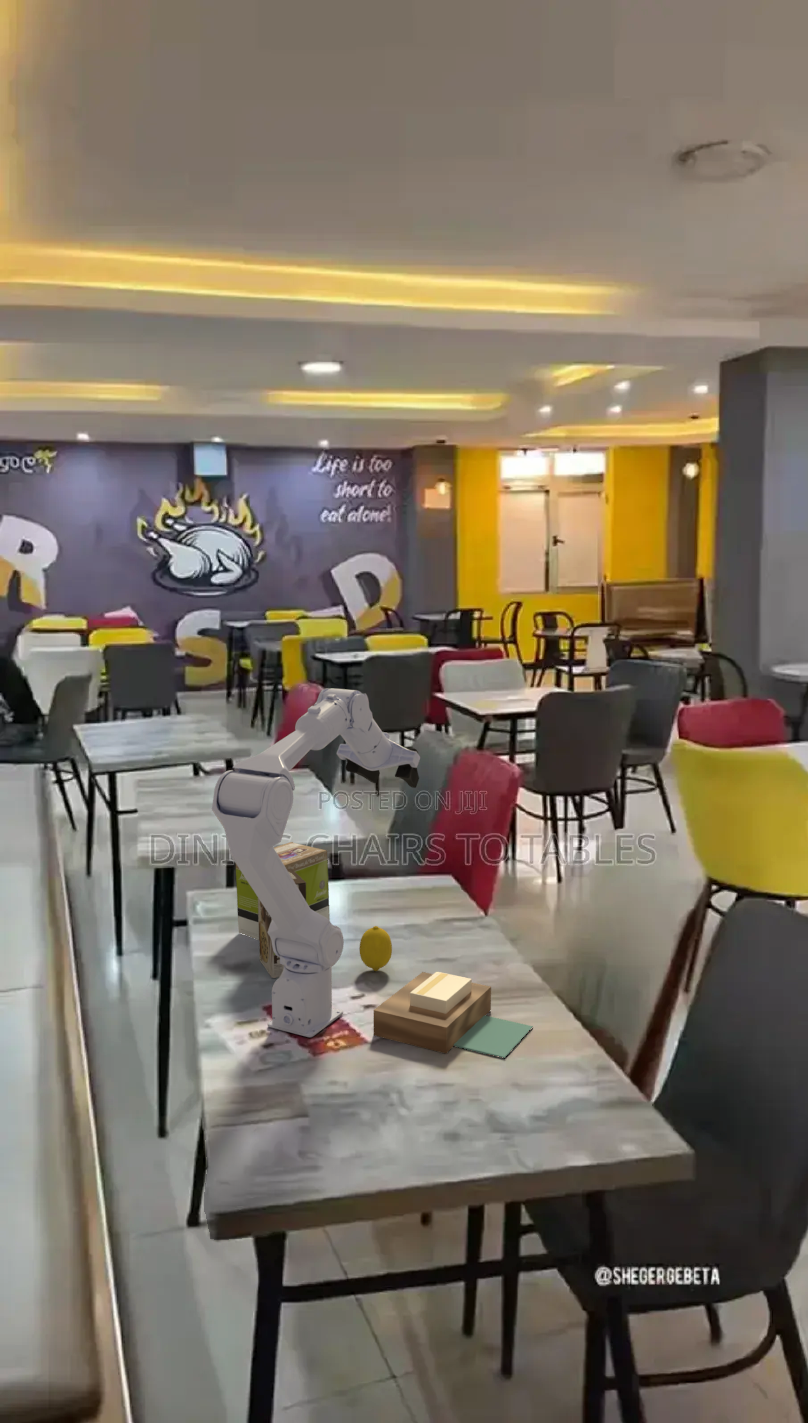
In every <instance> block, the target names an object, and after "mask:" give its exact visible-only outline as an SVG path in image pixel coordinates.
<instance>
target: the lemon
mask: <svg viewBox="0 0 808 1423" xmlns="http://www.w3.org/2000/svg"><path fill="white" fill-rule="evenodd" d="M359 942H360V943H359V948H358V949H359V956H360V959H361V962H362V964H364V965H365V966H366V967H368V968H370V969H372V970H373V971H374V972H378V971H379V970H380V969H381V968H384V967H386V966H387V965H388V963H389V962H390V960H391V958H392V954H393V944H392V940H391V937H390V934H389V933H388V932H387V930H385V929H383V928H381V927H379V926H378V925H374V926H373V927H370V928H368V929H367V930H366V931H364V933H362V935H361V939H360V941H359Z"/></svg>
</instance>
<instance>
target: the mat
mask: <svg viewBox="0 0 808 1423" xmlns="http://www.w3.org/2000/svg"><path fill="white" fill-rule="evenodd" d="M532 1027H533V1028H534V1026H533V1025H529V1024H526V1023H525V1024H524V1023H520V1022H517V1021H511V1020H507V1019H502V1018H499V1017H495V1016H490V1015H484V1016H483V1017H482V1018H481V1019H480V1020H479V1021H478V1022H477V1023H476V1024H475V1025H474V1026H473V1027H471V1028H470V1029H469V1030H468V1031H467V1032H466V1033H465V1034H464V1035H463V1036H462V1037H461V1038H460V1039H459V1040H458V1041H457V1042H456V1043H455V1044H454V1046H456V1047H455V1048H458V1047H459V1049H462V1048H464V1049H463V1050H466V1049H467V1050H466V1051H470V1050H472V1051H471V1052H474V1051H476V1052H475V1053H479V1054H482V1053H483V1055H486V1054H490V1055H494V1056H499V1057H503V1058H505V1057H506V1056H507V1055H508V1054H509V1053H510V1051H511V1050H512V1049H513V1048H514V1047H515V1046H516V1045H517V1044H518V1043H519V1042H520V1041H521V1039H522V1038H523V1037H524V1036H525V1035H526V1034H527V1033H528V1031H529V1030H530V1029H531V1028H532ZM528 1034H529V1033H528ZM528 1034H527V1035H528ZM527 1035H526V1036H527ZM526 1036H525V1037H526ZM525 1037H524V1038H525ZM524 1038H523V1039H524ZM523 1039H522V1040H523ZM521 1042H522V1041H521ZM521 1042H520V1043H521ZM520 1043H519V1044H520ZM519 1044H518V1045H519ZM518 1045H517V1046H518ZM517 1046H516V1047H517ZM516 1047H515V1048H516ZM515 1048H514V1049H515ZM514 1049H513V1050H514ZM513 1050H512V1051H513ZM512 1051H511V1052H512ZM510 1054H511V1053H510ZM510 1054H509V1055H510ZM490 1055H489V1056H490ZM509 1055H508V1056H509ZM494 1056H493V1057H494ZM508 1056H507V1057H508ZM507 1057H506V1058H507ZM506 1058H505V1059H506Z"/></svg>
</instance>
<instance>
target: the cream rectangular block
mask: <svg viewBox="0 0 808 1423" xmlns="http://www.w3.org/2000/svg"><path fill="white" fill-rule="evenodd" d="M432 974H433V975H432V976H430V977H429V978H428V979H427V980H425V981H424V982H423V983H422V984H420V985H419V986H418V987H417V988H415V989H414V990H413V991H412V992H410V1005H411V1006H415V1007H419V1008H424V1009H428V1010H432V1011H436V1012H441V1013H445V1014H446V1013H447V1012H449V1011H450V1010H451V1009H452V1008H453V1007H454V1006H455V1005H457V1004H458V1003H459V1002H460V1001H461V1000H462V999H463V998H464V997H466V996H467V995H468V994H469V993H470V992H471V991H472V983H473V982H472V980H473V979H472V978H470V977H464V976H460V975H455V974H451V973H446V972H441V971H435V972H434V973H432Z"/></svg>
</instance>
